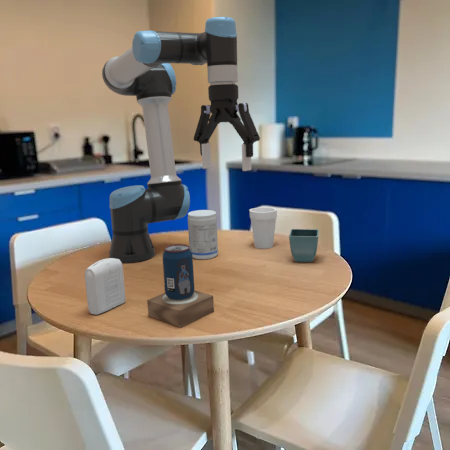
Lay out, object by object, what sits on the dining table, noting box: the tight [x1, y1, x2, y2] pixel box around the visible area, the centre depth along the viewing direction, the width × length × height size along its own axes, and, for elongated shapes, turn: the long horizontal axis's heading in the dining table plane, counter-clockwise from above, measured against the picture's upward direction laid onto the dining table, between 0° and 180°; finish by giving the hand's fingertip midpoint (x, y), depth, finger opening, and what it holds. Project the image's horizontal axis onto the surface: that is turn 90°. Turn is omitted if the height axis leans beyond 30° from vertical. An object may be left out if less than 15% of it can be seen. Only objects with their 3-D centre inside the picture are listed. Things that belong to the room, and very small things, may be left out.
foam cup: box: [249, 206, 278, 250], centre depth 167 cm, size 10×9×13 cm
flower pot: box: [288, 228, 320, 263], centre depth 150 cm, size 9×9×9 cm
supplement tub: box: [187, 209, 219, 260], centre depth 159 cm, size 10×10×15 cm
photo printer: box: [84, 257, 126, 315], centre depth 119 cm, size 10×4×12 cm, turn 147°
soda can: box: [162, 243, 195, 301], centre depth 112 cm, size 7×7×12 cm
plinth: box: [146, 289, 215, 328], centre depth 114 cm, size 11×11×4 cm
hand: (226, 169), depth 125 cm, fingers open, 13 cm apart
